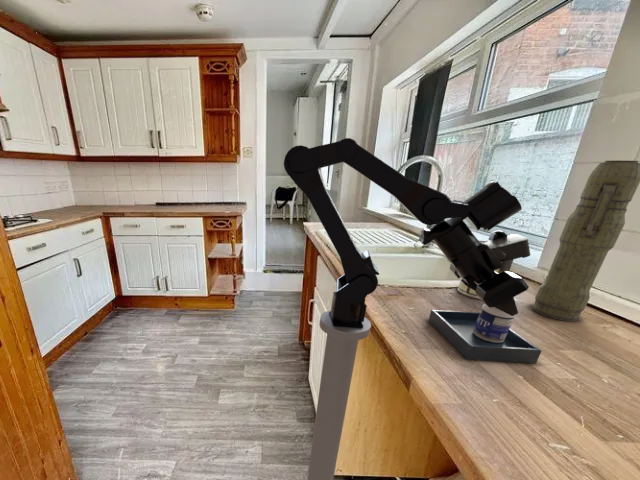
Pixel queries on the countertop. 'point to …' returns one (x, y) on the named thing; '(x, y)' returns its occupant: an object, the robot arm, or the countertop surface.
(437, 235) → the robot arm
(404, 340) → the countertop surface
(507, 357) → the tray
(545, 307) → the stone statue
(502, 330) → the pill bottle
